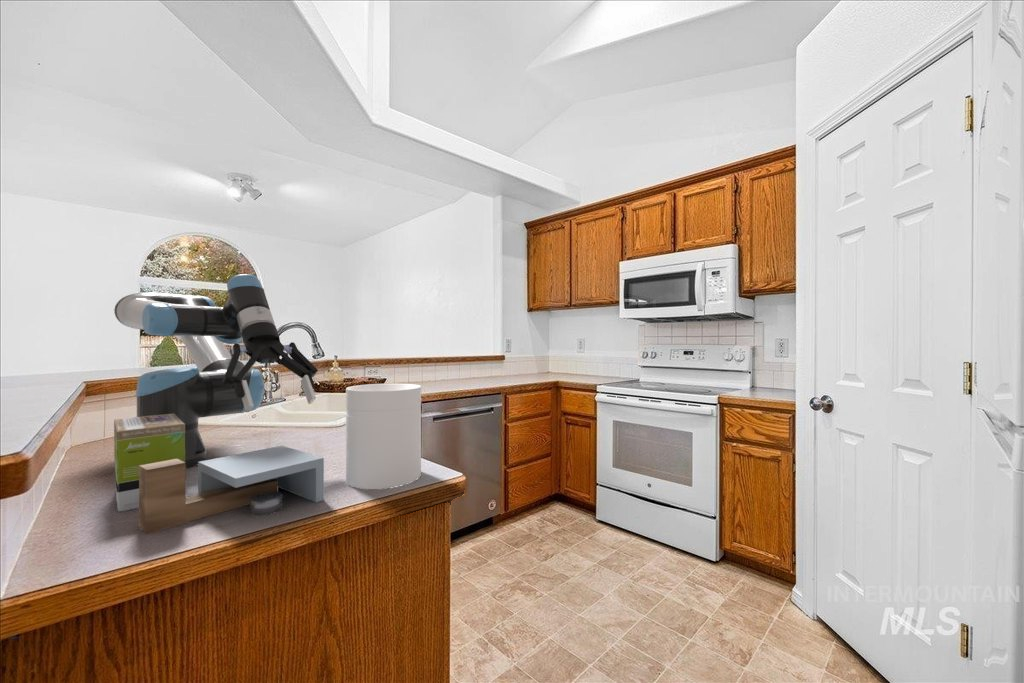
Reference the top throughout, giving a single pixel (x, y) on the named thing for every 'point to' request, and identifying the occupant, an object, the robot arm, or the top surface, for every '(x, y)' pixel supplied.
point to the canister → (383, 435)
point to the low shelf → (266, 471)
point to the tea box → (144, 451)
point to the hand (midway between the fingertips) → (282, 405)
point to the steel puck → (265, 503)
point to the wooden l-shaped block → (167, 496)
